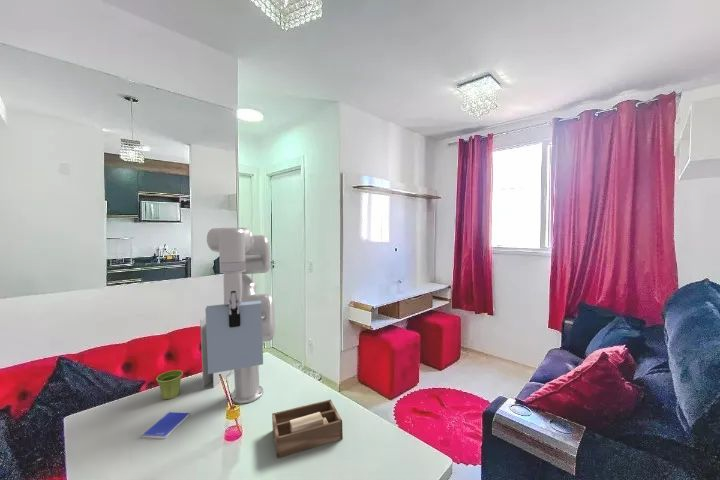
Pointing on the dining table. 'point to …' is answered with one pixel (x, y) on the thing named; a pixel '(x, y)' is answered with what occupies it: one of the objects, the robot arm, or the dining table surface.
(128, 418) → the dining table surface
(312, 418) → the offcut stack
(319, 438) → the brown wooden open box
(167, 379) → the plant pot
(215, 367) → the panel
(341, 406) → the dining table surface
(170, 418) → the hard drive
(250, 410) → the dining table surface
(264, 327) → the robot arm
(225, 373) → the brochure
